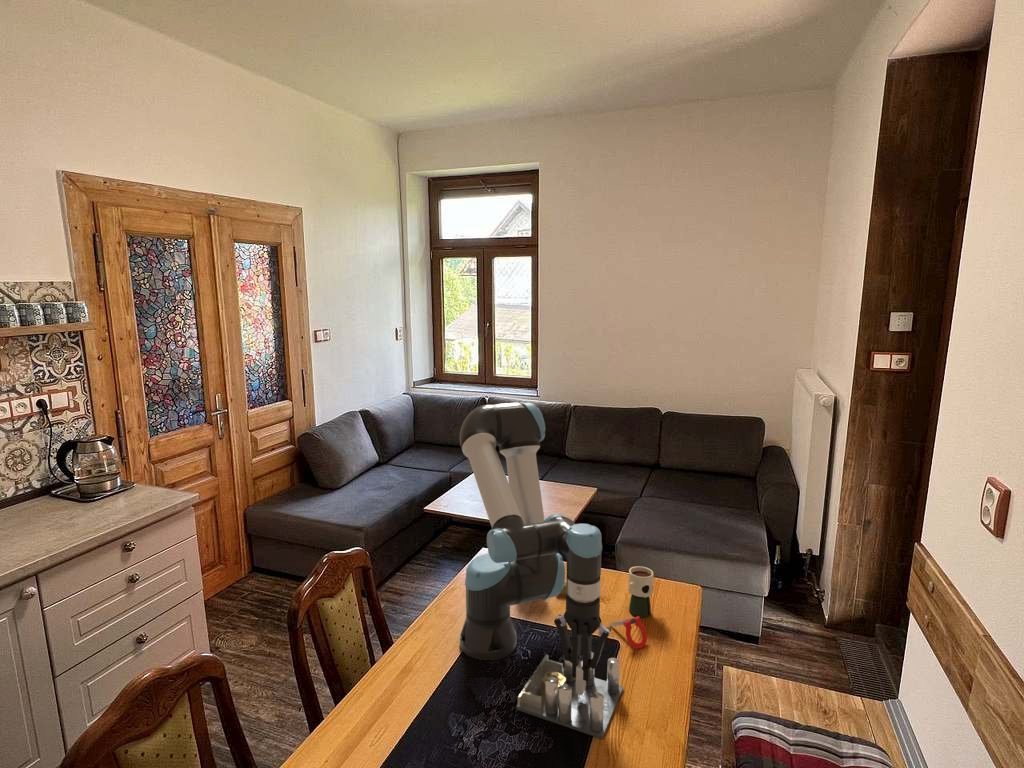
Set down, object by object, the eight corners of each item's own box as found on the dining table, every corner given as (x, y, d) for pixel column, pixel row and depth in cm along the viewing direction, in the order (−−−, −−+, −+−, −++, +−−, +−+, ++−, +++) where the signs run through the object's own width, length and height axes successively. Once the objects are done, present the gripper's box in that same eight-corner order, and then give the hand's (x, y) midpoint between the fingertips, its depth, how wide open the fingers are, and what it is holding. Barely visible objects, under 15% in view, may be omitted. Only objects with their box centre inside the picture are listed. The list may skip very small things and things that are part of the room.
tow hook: (633, 651, 146) (623, 622, 148) (609, 653, 154) (600, 626, 156) (651, 643, 149) (641, 614, 152) (627, 645, 157) (618, 618, 160)
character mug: (639, 625, 159) (640, 582, 157) (618, 615, 164) (619, 573, 162) (660, 611, 166) (662, 570, 164) (640, 601, 171) (642, 561, 169)
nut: (539, 695, 129) (539, 683, 129) (548, 680, 134) (548, 669, 134) (559, 702, 127) (559, 690, 127) (568, 686, 132) (568, 675, 132)
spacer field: (516, 709, 126) (516, 677, 125) (545, 665, 141) (545, 637, 140) (602, 739, 117) (603, 705, 116) (623, 689, 132) (624, 659, 131)
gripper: (549, 595, 124) (548, 692, 127) (606, 610, 118) (603, 710, 122) (561, 580, 130) (559, 672, 134) (616, 593, 125) (613, 689, 128)
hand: (580, 690), depth 128 cm, fingers closed
